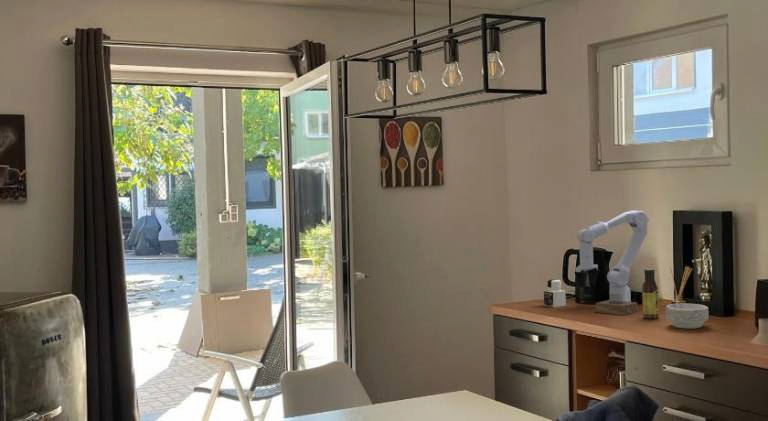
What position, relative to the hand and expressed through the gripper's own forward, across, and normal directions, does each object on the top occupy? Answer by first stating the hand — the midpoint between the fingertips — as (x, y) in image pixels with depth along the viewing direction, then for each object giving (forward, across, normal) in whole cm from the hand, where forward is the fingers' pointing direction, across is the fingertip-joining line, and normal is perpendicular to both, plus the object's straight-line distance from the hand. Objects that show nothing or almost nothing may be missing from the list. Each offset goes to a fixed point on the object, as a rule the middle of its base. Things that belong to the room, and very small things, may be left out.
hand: (587, 286), depth 372 cm
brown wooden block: (+9, +4, +17) cm, 20 cm away
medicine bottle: (+10, +4, -15) cm, 18 cm away
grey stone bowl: (+10, +19, +57) cm, 61 cm away
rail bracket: (+9, +4, +17) cm, 20 cm away
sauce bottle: (+10, +9, +36) cm, 38 cm away
